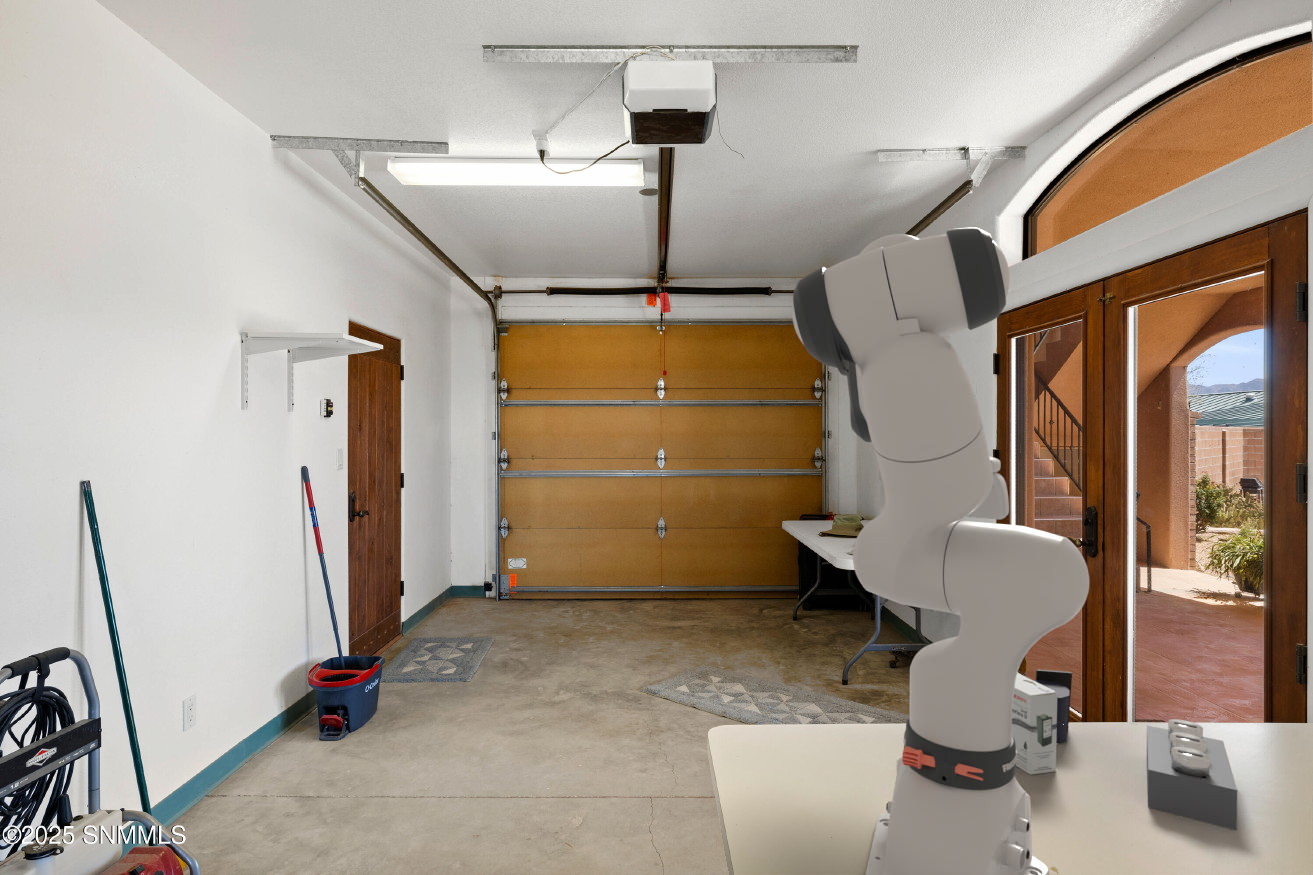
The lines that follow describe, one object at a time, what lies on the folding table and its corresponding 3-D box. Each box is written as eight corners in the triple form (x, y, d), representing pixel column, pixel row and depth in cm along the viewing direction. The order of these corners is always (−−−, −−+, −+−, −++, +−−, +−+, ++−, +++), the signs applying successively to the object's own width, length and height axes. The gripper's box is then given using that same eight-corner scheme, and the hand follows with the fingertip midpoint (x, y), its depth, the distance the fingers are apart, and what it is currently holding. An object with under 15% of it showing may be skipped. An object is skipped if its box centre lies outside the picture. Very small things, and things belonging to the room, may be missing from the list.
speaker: (1029, 720, 117) (1032, 662, 116) (1068, 730, 114) (1072, 671, 113) (1024, 741, 111) (1028, 680, 110) (1065, 752, 108) (1070, 689, 107)
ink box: (987, 749, 107) (988, 673, 107) (1013, 745, 108) (1014, 671, 108) (1030, 775, 99) (1030, 694, 99) (1058, 771, 100) (1059, 691, 100)
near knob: (1210, 802, 88) (1210, 762, 88) (1171, 792, 90) (1171, 754, 90) (1207, 789, 91) (1208, 751, 91) (1170, 780, 93) (1170, 743, 93)
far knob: (1203, 768, 97) (1204, 732, 97) (1168, 760, 99) (1168, 725, 99) (1201, 757, 100) (1201, 722, 100) (1167, 750, 102) (1167, 716, 102)
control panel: (1236, 829, 85) (1237, 790, 85) (1148, 806, 91) (1148, 769, 91) (1222, 775, 99) (1223, 740, 99) (1146, 757, 105) (1146, 725, 105)
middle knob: (1206, 784, 92) (1207, 746, 92) (1169, 776, 95) (1170, 739, 94) (1204, 772, 95) (1204, 736, 95) (1168, 764, 98) (1169, 729, 98)
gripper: (873, 458, 118) (873, 538, 118) (1005, 462, 107) (1004, 550, 107) (884, 458, 124) (884, 534, 124) (1011, 461, 112) (1010, 545, 112)
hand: (940, 542), depth 115 cm, fingers closed
